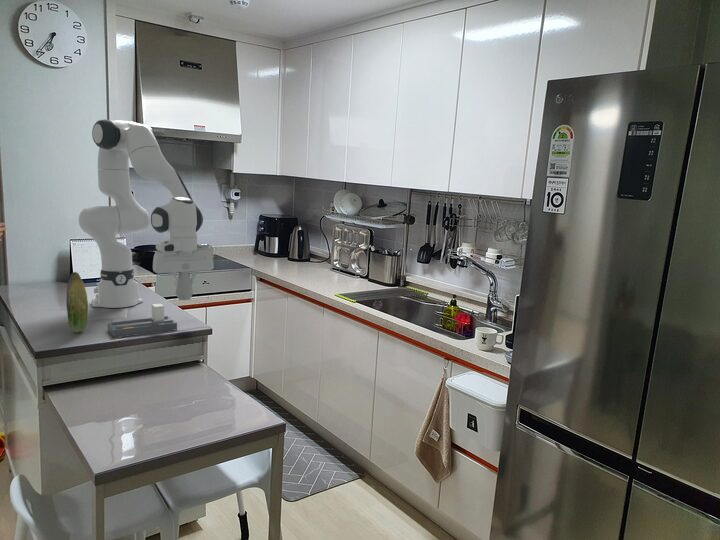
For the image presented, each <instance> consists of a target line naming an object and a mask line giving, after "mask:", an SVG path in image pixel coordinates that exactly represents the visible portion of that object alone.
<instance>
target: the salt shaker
mask: <svg viewBox="0 0 720 540" xmlns="http://www.w3.org/2000/svg"><path fill="white" fill-rule="evenodd" d="M182 269H184V270H186V269H189V264H183V265H182ZM177 276H178V277H177V279H178V280H179V284H178V285H176V289H175V295H176V297H177V298H178V300H179V301H190V300H191V298H192V297H193V294H194V290H193V286H192V285H193V284H191V281H190V277H191V272H178V275H177Z"/></svg>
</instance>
